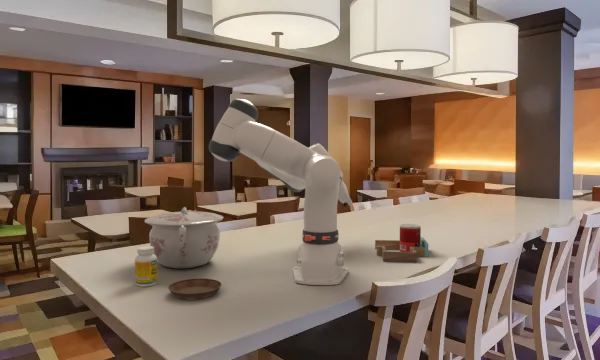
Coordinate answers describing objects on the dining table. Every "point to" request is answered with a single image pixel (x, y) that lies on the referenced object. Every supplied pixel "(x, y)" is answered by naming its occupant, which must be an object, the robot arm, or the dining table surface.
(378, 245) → the brown wooden tray
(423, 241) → the end stop
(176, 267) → the chamber pot
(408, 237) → the canned food
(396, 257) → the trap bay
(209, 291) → the saucer
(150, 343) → the dining table surface
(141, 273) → the supplement bottle
